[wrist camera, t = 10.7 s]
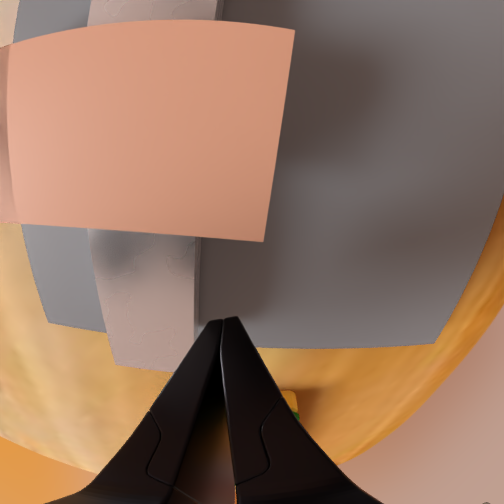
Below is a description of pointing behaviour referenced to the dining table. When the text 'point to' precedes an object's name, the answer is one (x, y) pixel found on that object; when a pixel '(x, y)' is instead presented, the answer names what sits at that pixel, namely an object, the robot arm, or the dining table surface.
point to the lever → (148, 244)
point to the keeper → (144, 127)
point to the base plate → (340, 177)
